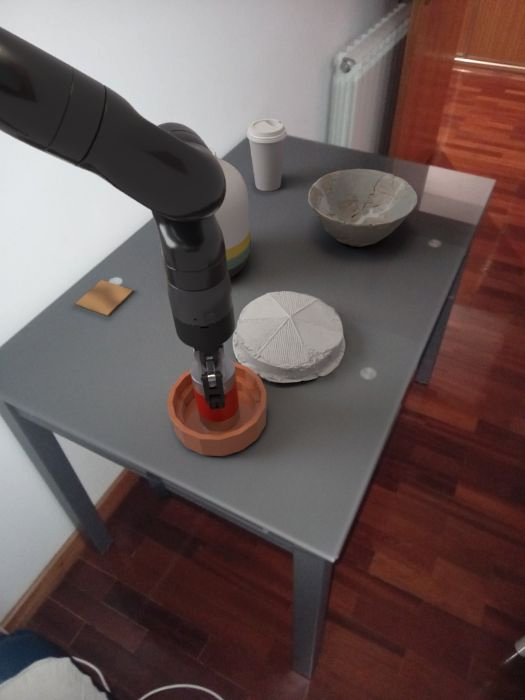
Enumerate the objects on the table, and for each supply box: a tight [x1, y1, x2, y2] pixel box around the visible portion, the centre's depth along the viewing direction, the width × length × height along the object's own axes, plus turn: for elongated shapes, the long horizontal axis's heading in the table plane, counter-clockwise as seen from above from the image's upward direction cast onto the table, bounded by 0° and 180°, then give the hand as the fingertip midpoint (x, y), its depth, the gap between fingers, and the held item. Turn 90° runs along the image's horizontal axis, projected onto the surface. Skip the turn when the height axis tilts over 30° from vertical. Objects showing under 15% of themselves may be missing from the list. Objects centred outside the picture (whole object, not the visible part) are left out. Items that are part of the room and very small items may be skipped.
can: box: [189, 354, 240, 431], centre depth 72 cm, size 6×6×11 cm
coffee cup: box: [246, 118, 288, 192], centre depth 120 cm, size 10×10×15 cm
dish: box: [166, 361, 268, 457], centre depth 75 cm, size 15×15×5 cm
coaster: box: [75, 279, 134, 317], centre depth 97 cm, size 8×8×1 cm
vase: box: [208, 147, 252, 278], centre depth 95 cm, size 17×17×24 cm
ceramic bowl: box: [307, 168, 418, 247], centre depth 106 cm, size 22×23×10 cm
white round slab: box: [232, 290, 346, 384], centre depth 85 cm, size 20×20×7 cm
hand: (215, 387), depth 71 cm, fingers closed on can, 6 cm apart
